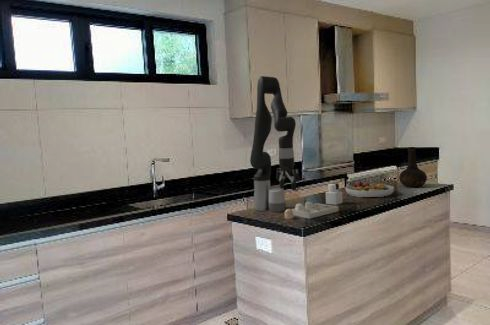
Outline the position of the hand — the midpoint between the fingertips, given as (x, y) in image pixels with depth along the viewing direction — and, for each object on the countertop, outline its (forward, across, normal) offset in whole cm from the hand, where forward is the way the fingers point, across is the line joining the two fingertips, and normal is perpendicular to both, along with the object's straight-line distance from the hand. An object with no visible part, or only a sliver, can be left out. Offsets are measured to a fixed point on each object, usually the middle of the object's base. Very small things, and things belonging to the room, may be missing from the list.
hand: (287, 189), depth 194 cm
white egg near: (+15, +3, -10) cm, 18 cm away
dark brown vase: (+16, +5, -124) cm, 125 cm away
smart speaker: (+16, +18, -8) cm, 25 cm away
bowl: (+16, +11, -82) cm, 84 cm away
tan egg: (+16, 0, 0) cm, 16 cm away
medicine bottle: (+16, +9, -45) cm, 48 cm away
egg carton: (+16, -1, -17) cm, 23 cm away
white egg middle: (+15, +2, -17) cm, 23 cm away
